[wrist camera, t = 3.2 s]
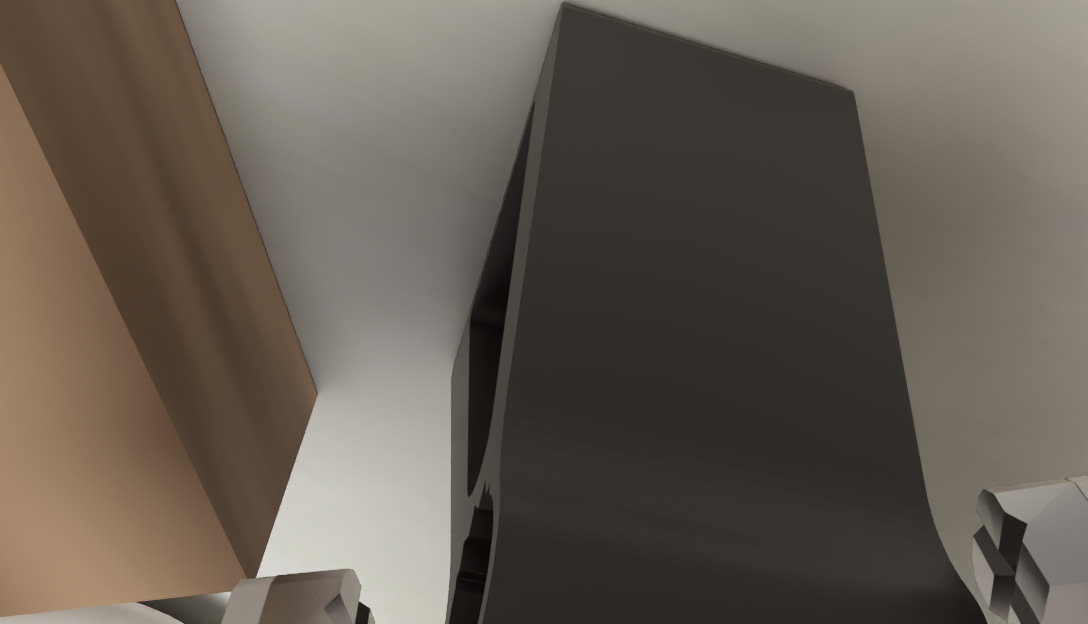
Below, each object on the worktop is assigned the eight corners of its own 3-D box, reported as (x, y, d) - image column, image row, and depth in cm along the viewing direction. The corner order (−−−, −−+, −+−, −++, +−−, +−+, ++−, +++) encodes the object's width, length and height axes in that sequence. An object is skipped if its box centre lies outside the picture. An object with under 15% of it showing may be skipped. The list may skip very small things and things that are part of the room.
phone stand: (684, 423, 23) (795, 973, 13) (450, 367, 22) (371, 911, 12) (850, 86, 18) (1229, 527, 8) (563, -4, 17) (590, 370, 7)
